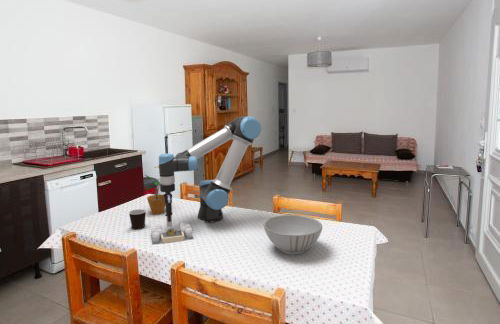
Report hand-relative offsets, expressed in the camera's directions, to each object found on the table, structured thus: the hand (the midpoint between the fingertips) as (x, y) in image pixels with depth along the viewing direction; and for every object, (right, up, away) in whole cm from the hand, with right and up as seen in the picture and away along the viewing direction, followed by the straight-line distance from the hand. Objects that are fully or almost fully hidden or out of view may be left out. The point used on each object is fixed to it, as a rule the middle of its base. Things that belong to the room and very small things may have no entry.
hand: (169, 226), depth 181 cm
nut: (+2, -3, -6) cm, 7 cm away
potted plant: (-15, +2, +33) cm, 36 cm away
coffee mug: (-18, -2, +6) cm, 19 cm away
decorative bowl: (+63, -6, -22) cm, 67 cm away
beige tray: (+3, -4, -9) cm, 11 cm away
